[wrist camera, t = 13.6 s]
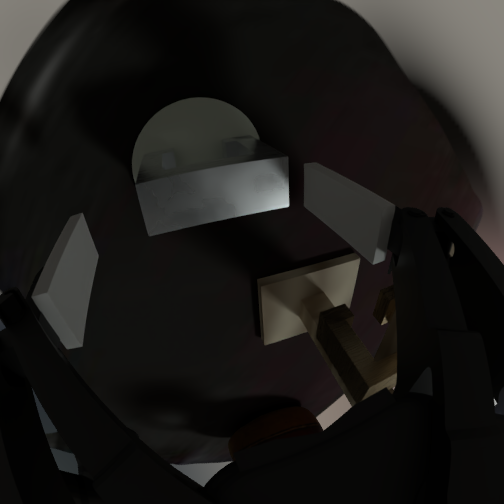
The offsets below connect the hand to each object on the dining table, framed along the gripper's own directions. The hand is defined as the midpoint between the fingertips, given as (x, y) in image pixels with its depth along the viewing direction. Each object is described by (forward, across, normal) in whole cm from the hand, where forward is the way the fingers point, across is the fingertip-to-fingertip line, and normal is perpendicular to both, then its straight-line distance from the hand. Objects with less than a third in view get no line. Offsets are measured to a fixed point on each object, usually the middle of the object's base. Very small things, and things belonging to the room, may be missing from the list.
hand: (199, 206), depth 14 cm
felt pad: (+7, +1, +1) cm, 7 cm away
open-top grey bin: (+7, +1, +1) cm, 7 cm away
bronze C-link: (-2, +11, -11) cm, 15 cm away
